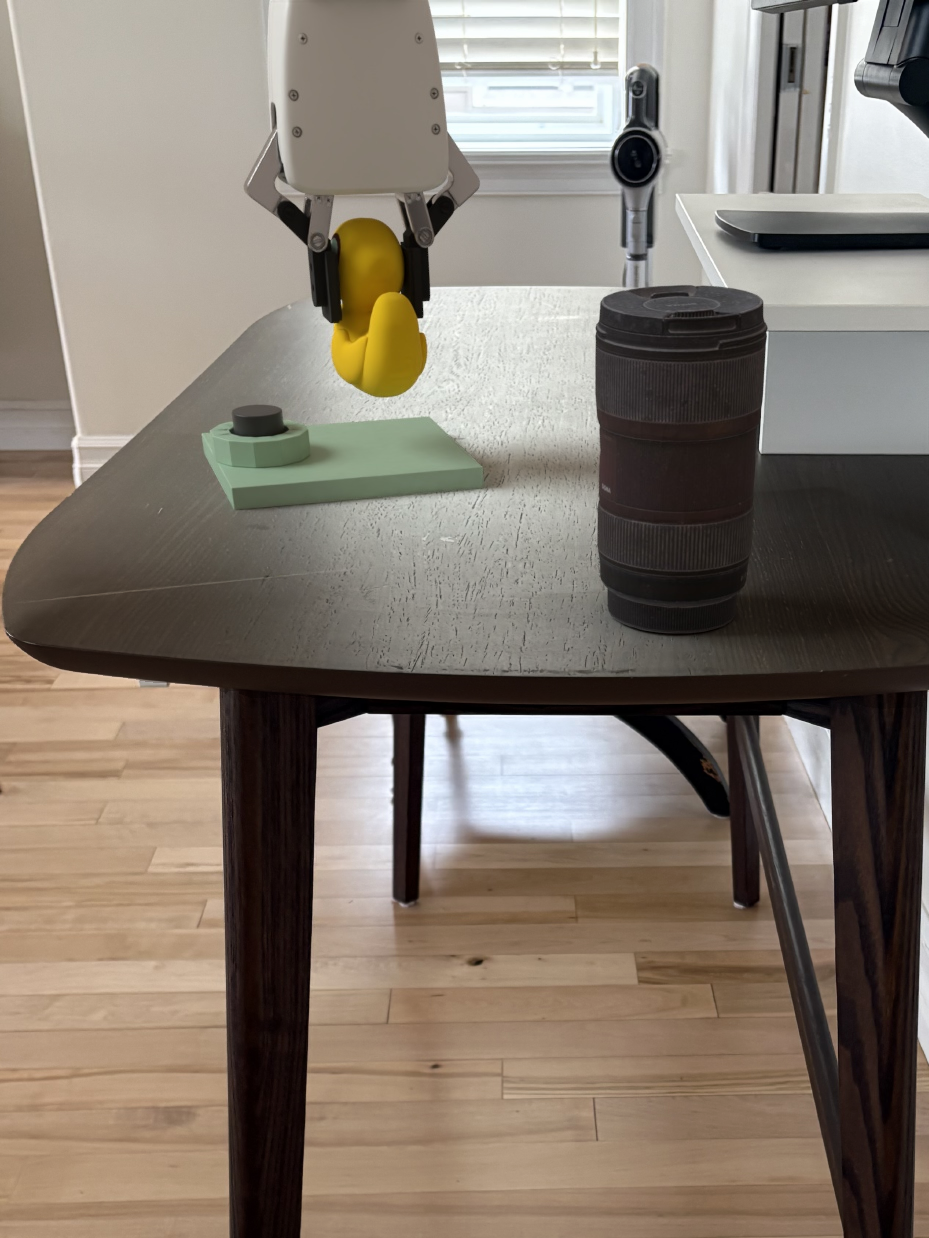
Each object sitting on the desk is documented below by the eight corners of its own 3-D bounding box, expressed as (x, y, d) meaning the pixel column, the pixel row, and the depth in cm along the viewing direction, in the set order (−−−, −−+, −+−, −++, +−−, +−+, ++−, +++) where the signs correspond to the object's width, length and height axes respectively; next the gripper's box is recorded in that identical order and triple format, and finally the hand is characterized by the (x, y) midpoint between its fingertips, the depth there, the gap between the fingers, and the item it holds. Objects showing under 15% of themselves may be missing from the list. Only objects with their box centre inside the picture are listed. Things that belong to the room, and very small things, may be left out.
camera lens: (572, 596, 81) (572, 287, 72) (711, 580, 83) (727, 279, 75) (624, 648, 75) (631, 318, 66) (773, 630, 77) (799, 308, 68)
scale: (233, 511, 93) (227, 460, 91) (203, 454, 104) (197, 408, 102) (484, 489, 97) (482, 440, 96) (430, 437, 108) (428, 392, 106)
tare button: (238, 443, 96) (235, 418, 95) (231, 431, 99) (228, 406, 98) (288, 440, 97) (286, 414, 96) (280, 428, 99) (277, 403, 99)
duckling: (312, 378, 102) (298, 210, 96) (388, 372, 104) (379, 207, 98) (364, 415, 94) (352, 233, 88) (445, 408, 96) (439, 230, 90)
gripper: (474, -34, 91) (484, 300, 101) (188, -37, 86) (230, 314, 97) (511, -34, 85) (517, 321, 95) (206, -37, 80) (248, 336, 91)
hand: (372, 314), depth 96 cm, fingers closed on duckling, 4 cm apart
